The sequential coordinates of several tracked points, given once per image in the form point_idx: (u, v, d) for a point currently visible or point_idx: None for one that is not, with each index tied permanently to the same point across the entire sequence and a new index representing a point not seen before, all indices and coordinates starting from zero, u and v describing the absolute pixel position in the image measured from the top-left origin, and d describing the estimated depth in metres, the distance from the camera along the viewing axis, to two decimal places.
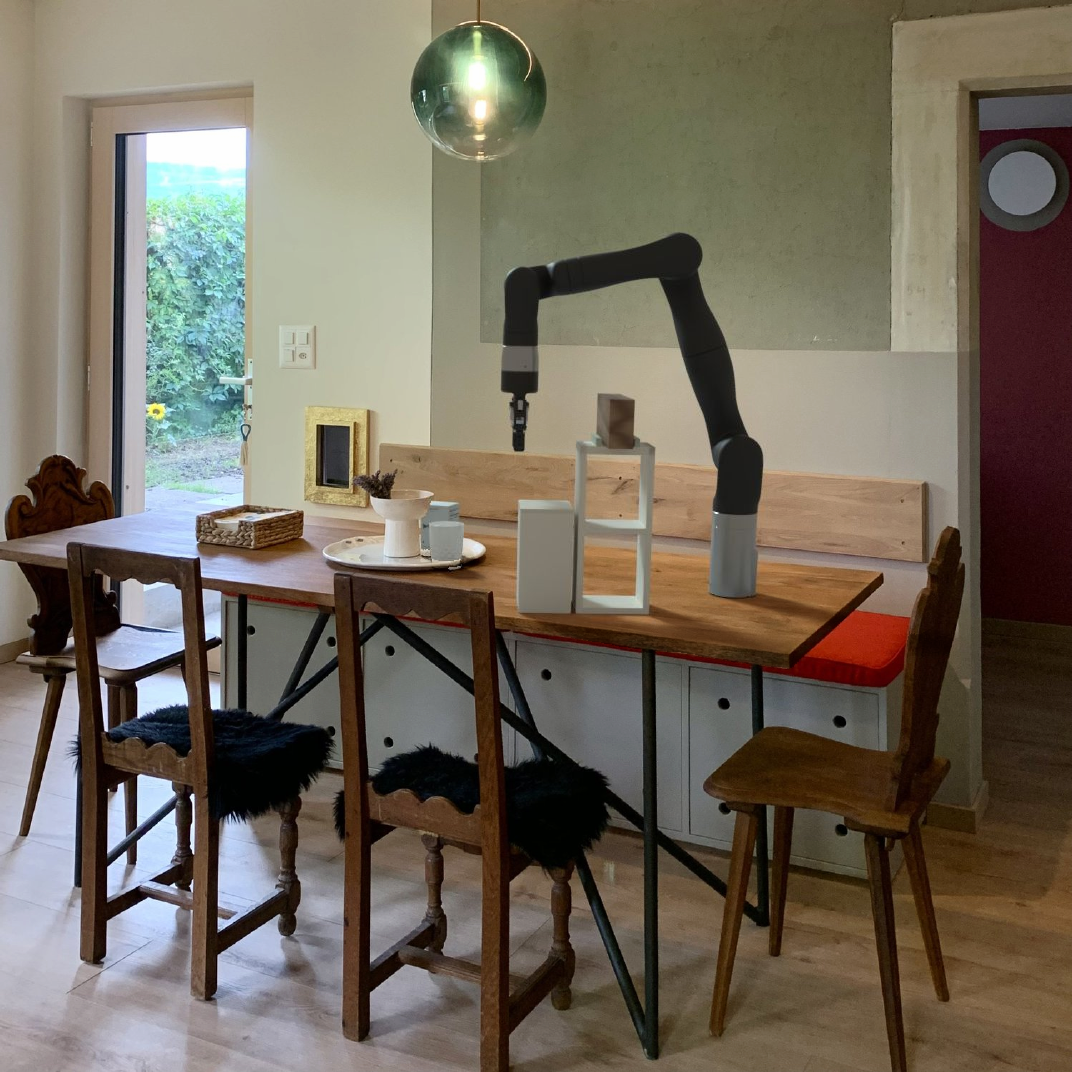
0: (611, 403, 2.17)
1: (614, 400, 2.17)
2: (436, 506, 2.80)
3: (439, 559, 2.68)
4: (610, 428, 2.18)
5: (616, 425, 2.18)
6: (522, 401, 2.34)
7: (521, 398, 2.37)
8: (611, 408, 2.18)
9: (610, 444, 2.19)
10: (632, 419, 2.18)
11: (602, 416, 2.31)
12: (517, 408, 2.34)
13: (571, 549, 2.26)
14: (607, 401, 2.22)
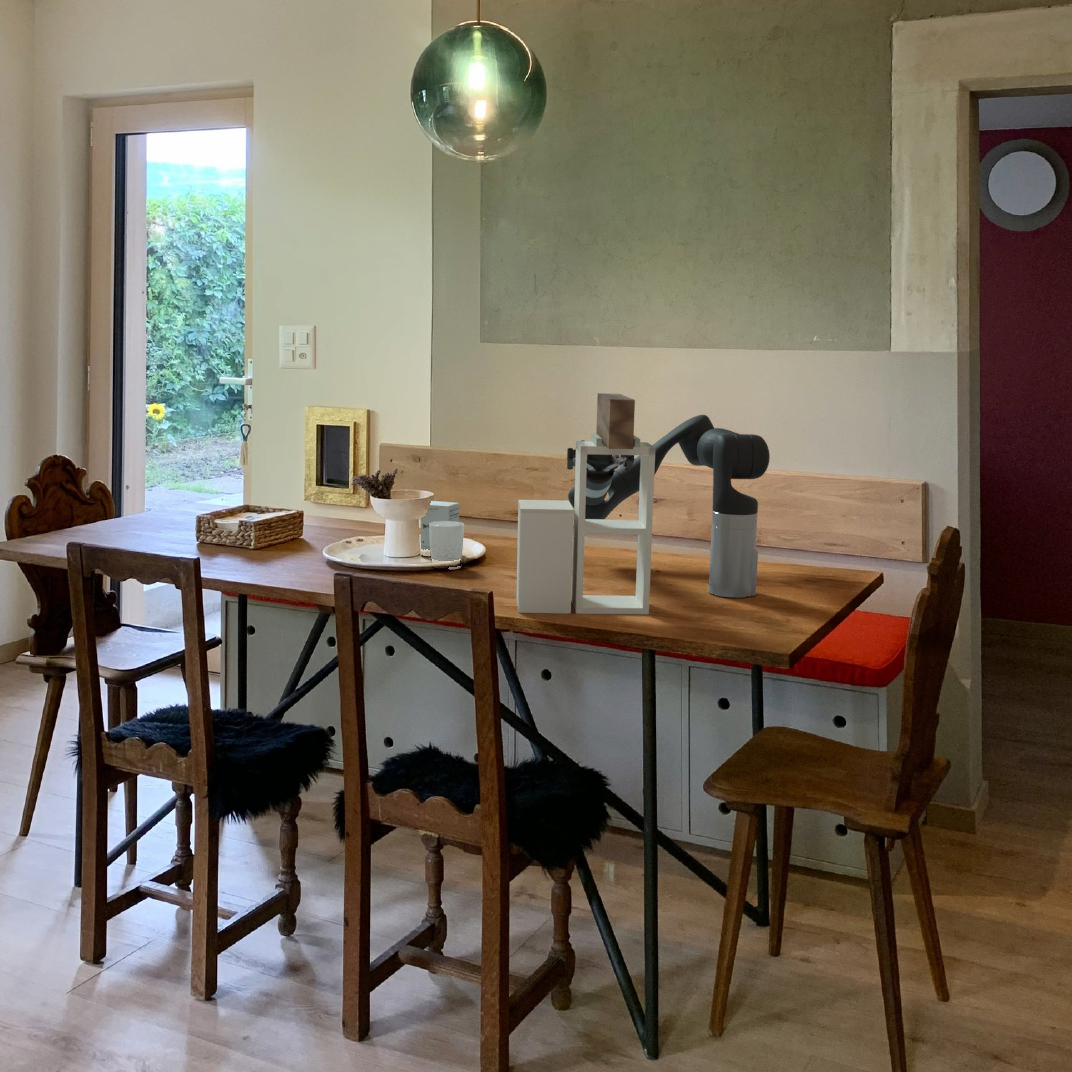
0: (611, 403, 2.17)
1: (614, 400, 2.17)
2: (436, 506, 2.80)
3: (439, 559, 2.68)
4: (610, 428, 2.18)
5: (616, 425, 2.18)
6: None
7: None
8: (611, 408, 2.18)
9: (610, 444, 2.19)
10: (632, 419, 2.18)
11: (602, 416, 2.31)
12: None
13: (571, 549, 2.26)
14: (607, 401, 2.22)
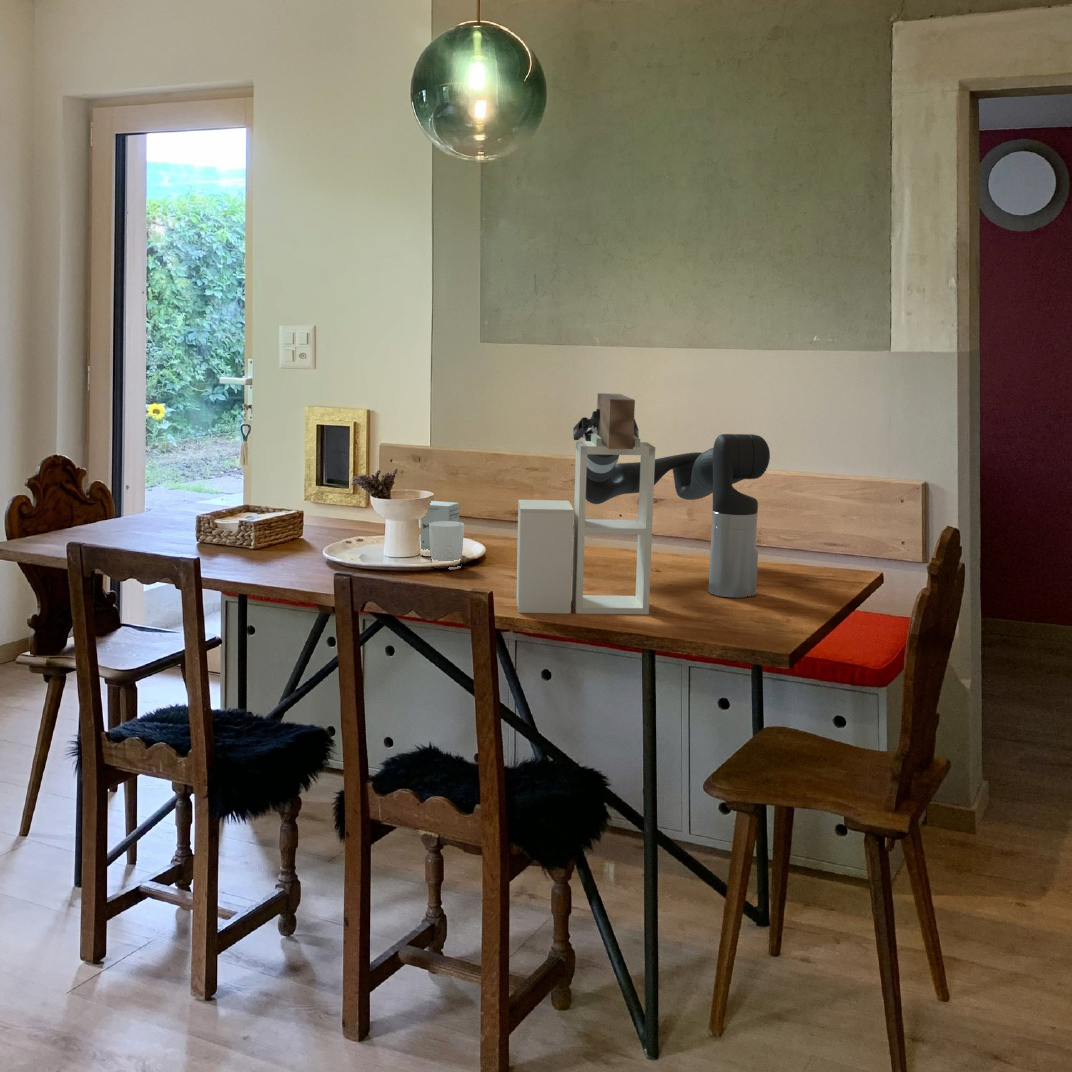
0: (611, 403, 2.17)
1: (614, 400, 2.17)
2: (436, 506, 2.80)
3: (439, 559, 2.68)
4: (610, 428, 2.18)
5: (616, 425, 2.18)
6: None
7: None
8: (611, 408, 2.18)
9: (610, 444, 2.19)
10: (632, 419, 2.18)
11: (602, 416, 2.31)
12: (637, 429, 2.44)
13: (571, 549, 2.26)
14: (607, 401, 2.22)
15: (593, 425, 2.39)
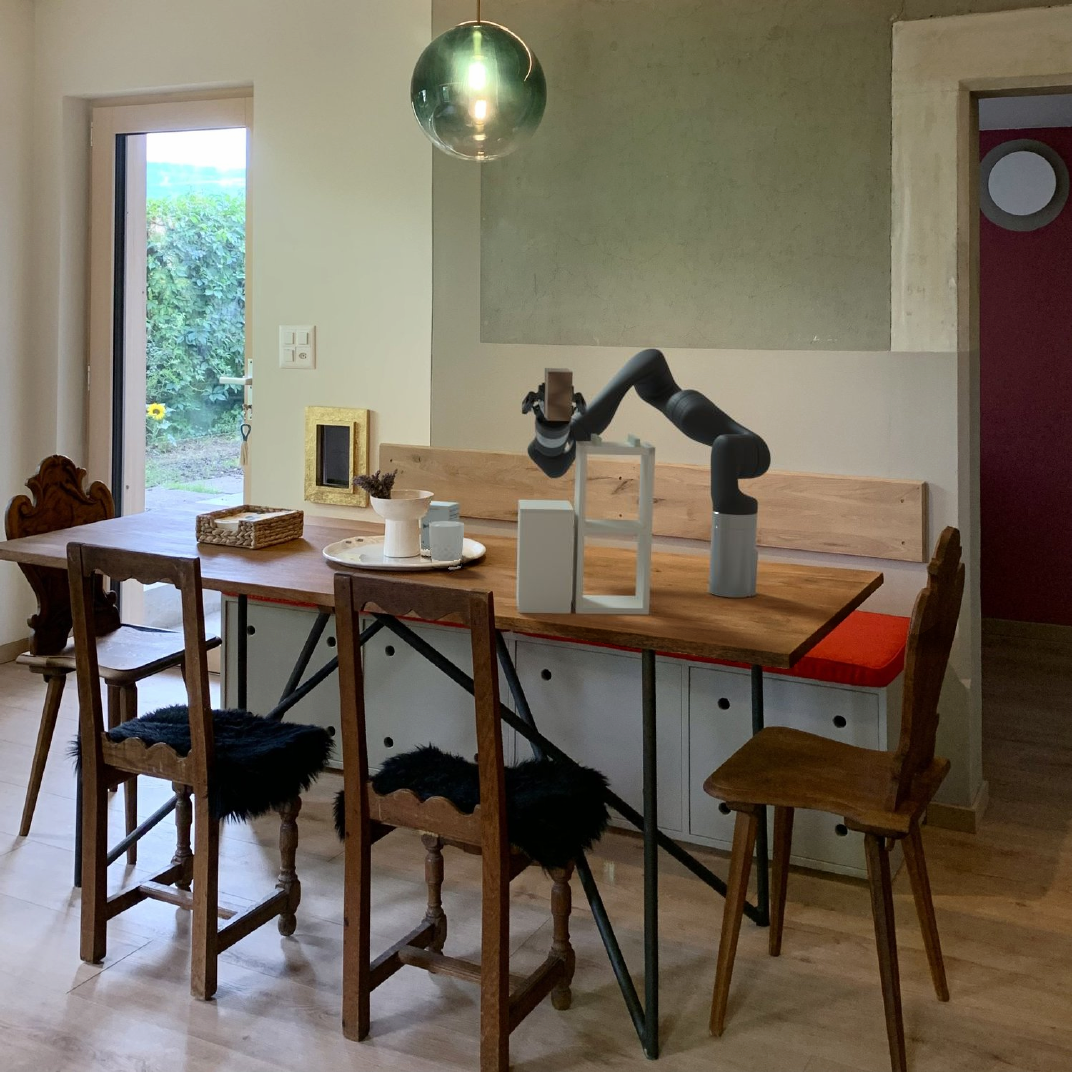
0: (549, 375, 2.21)
1: (552, 372, 2.21)
2: (436, 506, 2.80)
3: (439, 559, 2.68)
4: (548, 400, 2.21)
5: (554, 397, 2.21)
6: None
7: None
8: (549, 380, 2.21)
9: (548, 416, 2.22)
10: (570, 391, 2.21)
11: None
12: (585, 403, 2.47)
13: (571, 549, 2.26)
14: (547, 374, 2.25)
15: (539, 399, 2.42)
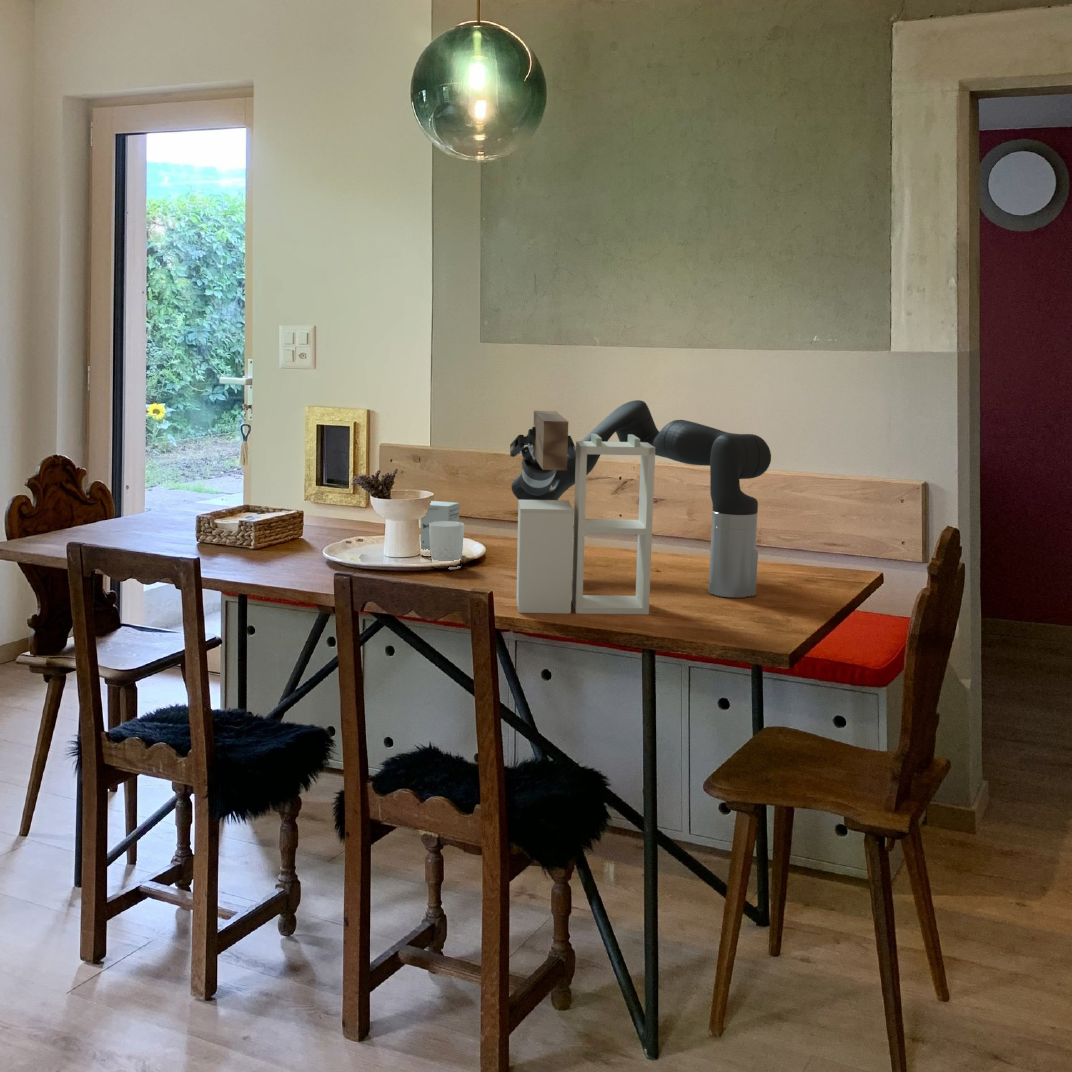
0: (545, 425, 2.19)
1: (548, 422, 2.19)
2: (436, 506, 2.80)
3: (439, 559, 2.68)
4: (544, 449, 2.20)
5: (550, 446, 2.20)
6: None
7: None
8: (545, 430, 2.19)
9: (544, 465, 2.21)
10: (566, 440, 2.20)
11: (537, 435, 2.33)
12: (573, 446, 2.46)
13: (571, 549, 2.26)
14: (541, 422, 2.24)
15: (529, 442, 2.41)
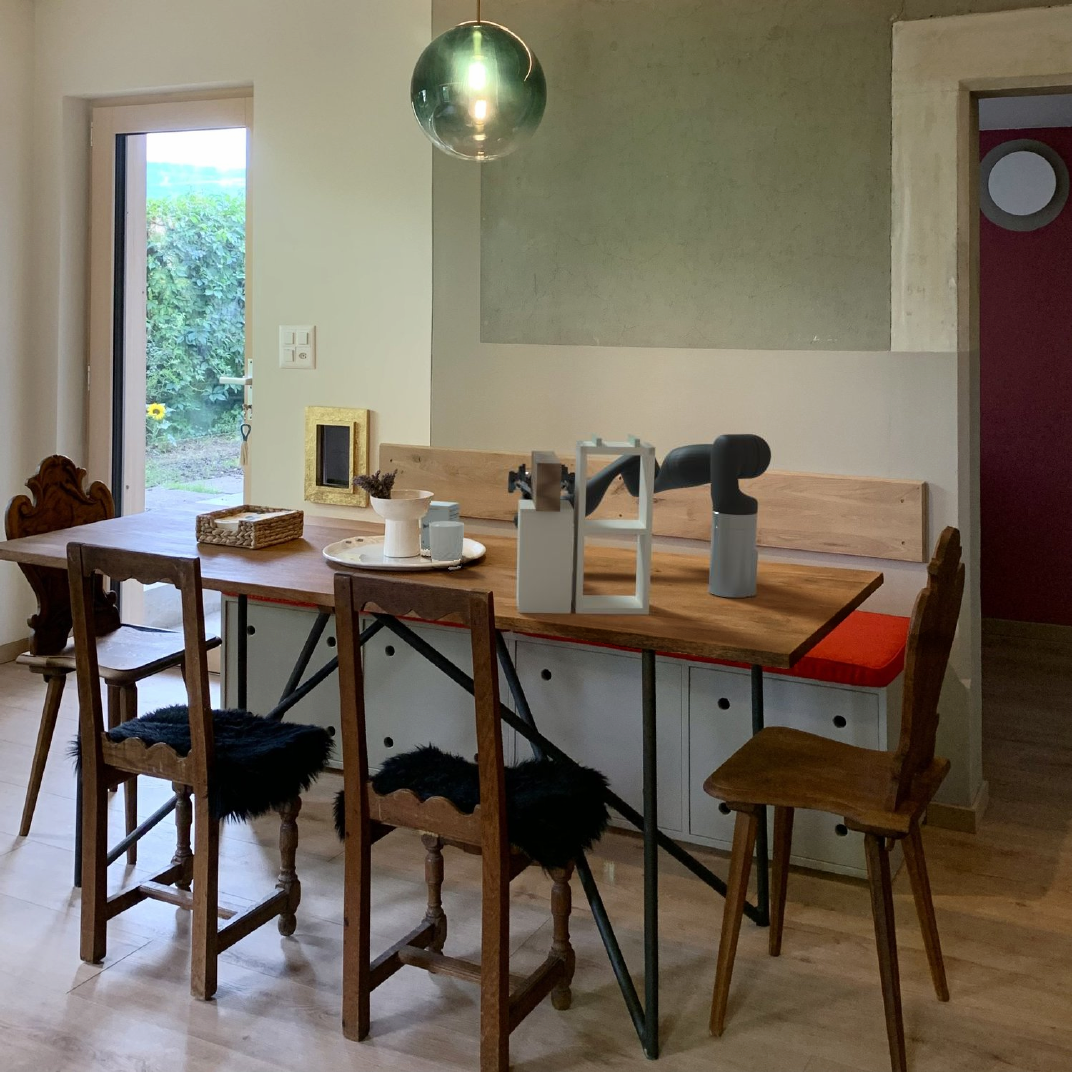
0: (538, 466, 2.20)
1: (541, 464, 2.20)
2: (436, 506, 2.80)
3: (439, 559, 2.68)
4: (537, 491, 2.21)
5: (543, 488, 2.21)
6: None
7: None
8: (538, 471, 2.20)
9: (537, 507, 2.22)
10: (559, 482, 2.21)
11: (533, 476, 2.34)
12: None
13: (571, 549, 2.26)
14: None
15: (520, 479, 2.42)
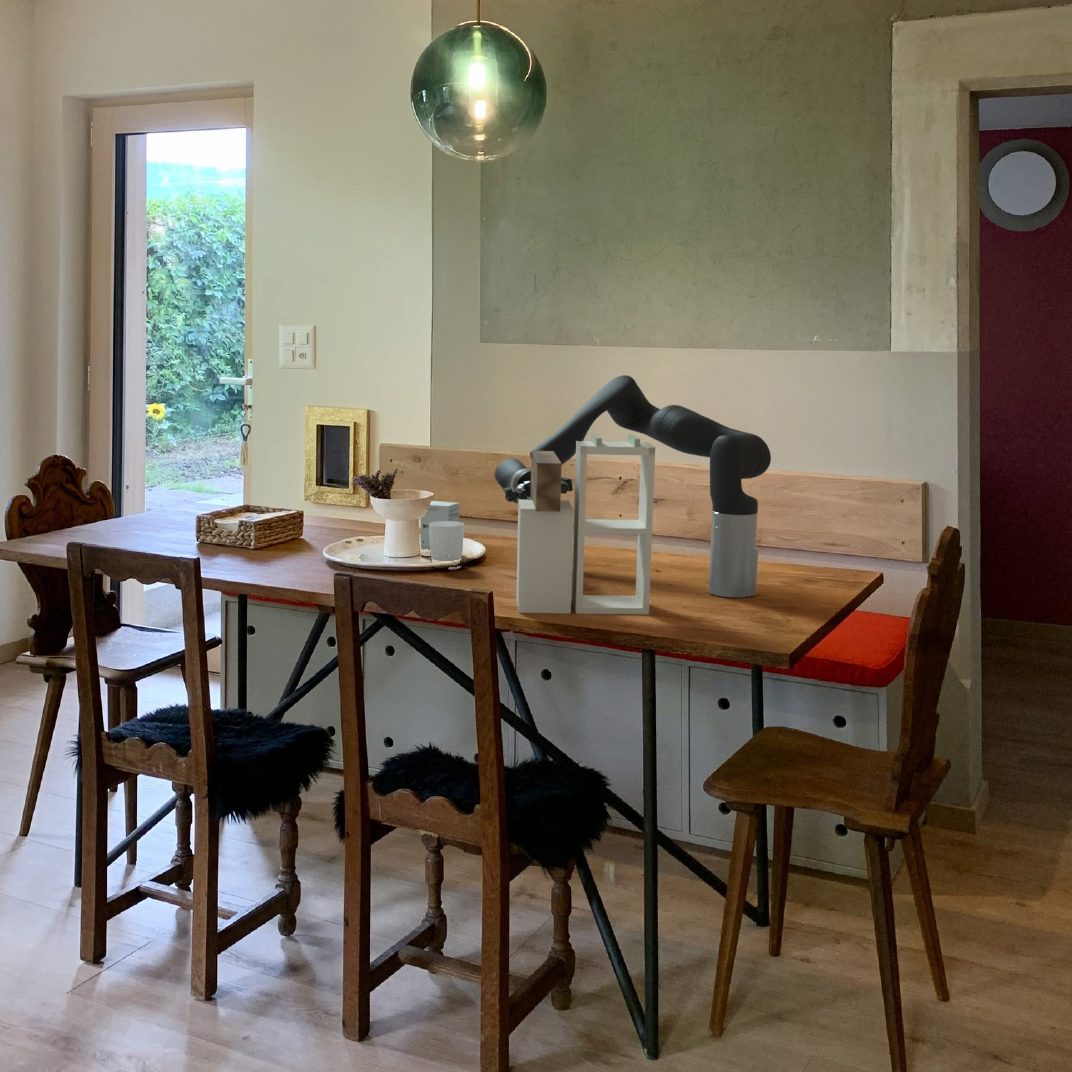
0: (538, 466, 2.20)
1: (541, 464, 2.20)
2: (436, 506, 2.80)
3: (439, 559, 2.68)
4: (537, 491, 2.21)
5: (543, 488, 2.21)
6: None
7: None
8: (538, 471, 2.20)
9: (537, 507, 2.22)
10: (559, 482, 2.21)
11: (533, 476, 2.34)
12: None
13: (571, 549, 2.26)
14: None
15: (519, 498, 2.51)
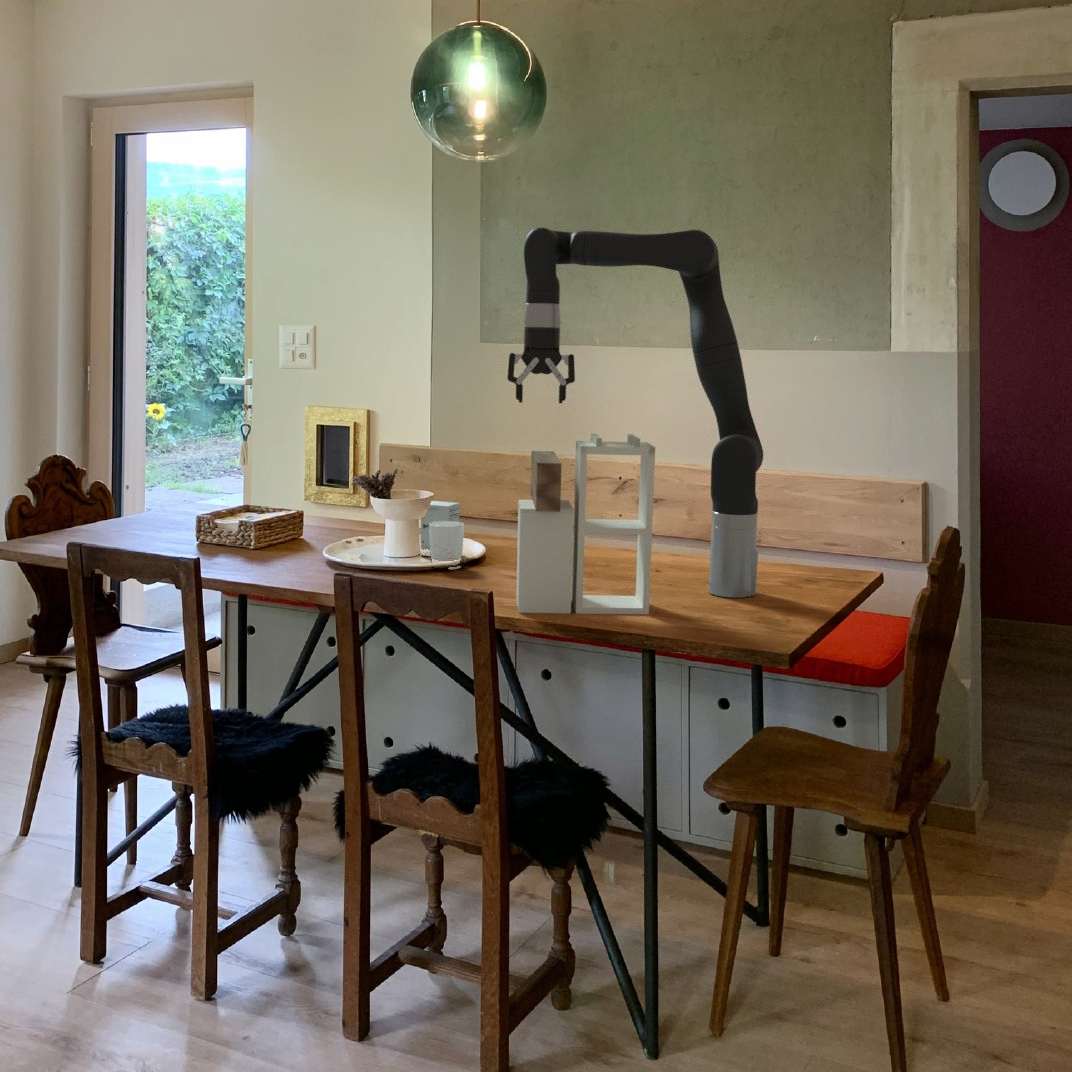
0: (538, 466, 2.20)
1: (541, 464, 2.20)
2: (436, 506, 2.80)
3: (439, 559, 2.68)
4: (537, 491, 2.21)
5: (543, 488, 2.21)
6: None
7: None
8: (538, 471, 2.20)
9: (537, 507, 2.22)
10: (559, 482, 2.21)
11: (533, 476, 2.34)
12: None
13: (571, 549, 2.26)
14: None
15: None
